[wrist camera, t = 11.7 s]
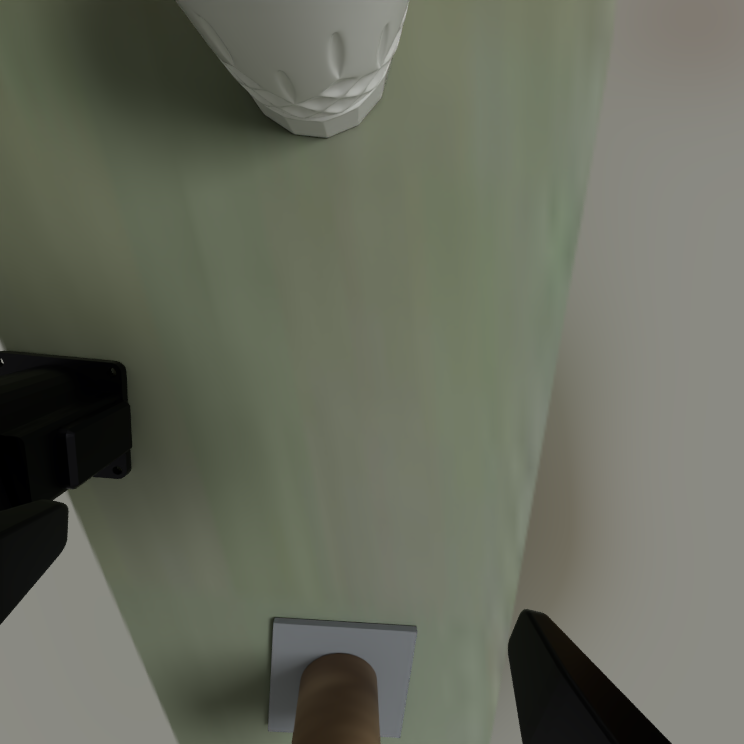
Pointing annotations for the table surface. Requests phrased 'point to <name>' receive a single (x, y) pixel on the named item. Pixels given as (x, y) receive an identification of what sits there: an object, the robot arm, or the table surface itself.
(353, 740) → the walnut cylinder
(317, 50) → the white cup
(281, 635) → the slate mat
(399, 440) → the table surface
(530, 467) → the table surface
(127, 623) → the table surface
